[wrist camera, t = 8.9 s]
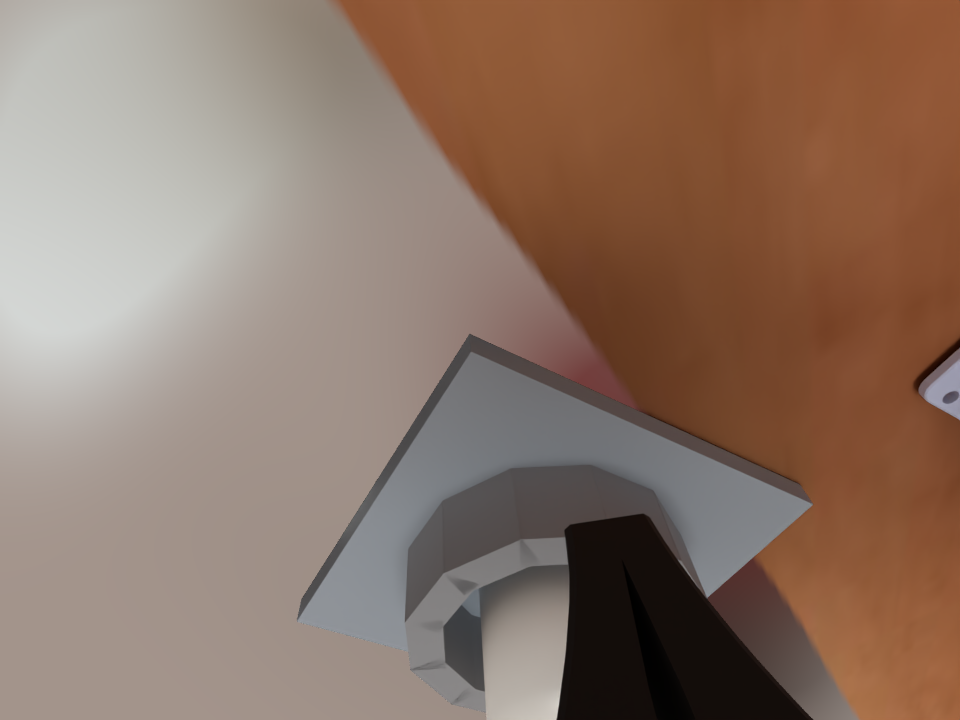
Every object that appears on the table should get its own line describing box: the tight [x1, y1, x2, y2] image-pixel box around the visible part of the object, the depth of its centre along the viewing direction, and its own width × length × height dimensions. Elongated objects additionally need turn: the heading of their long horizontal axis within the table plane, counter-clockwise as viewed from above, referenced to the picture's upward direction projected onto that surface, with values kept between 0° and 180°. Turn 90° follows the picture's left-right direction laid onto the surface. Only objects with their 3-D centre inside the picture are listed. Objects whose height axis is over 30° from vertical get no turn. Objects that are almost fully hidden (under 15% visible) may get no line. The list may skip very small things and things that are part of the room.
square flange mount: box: [297, 334, 813, 713], centre depth 23 cm, size 14×14×4 cm
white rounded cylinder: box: [479, 564, 569, 720], centre depth 21 cm, size 5×5×6 cm
